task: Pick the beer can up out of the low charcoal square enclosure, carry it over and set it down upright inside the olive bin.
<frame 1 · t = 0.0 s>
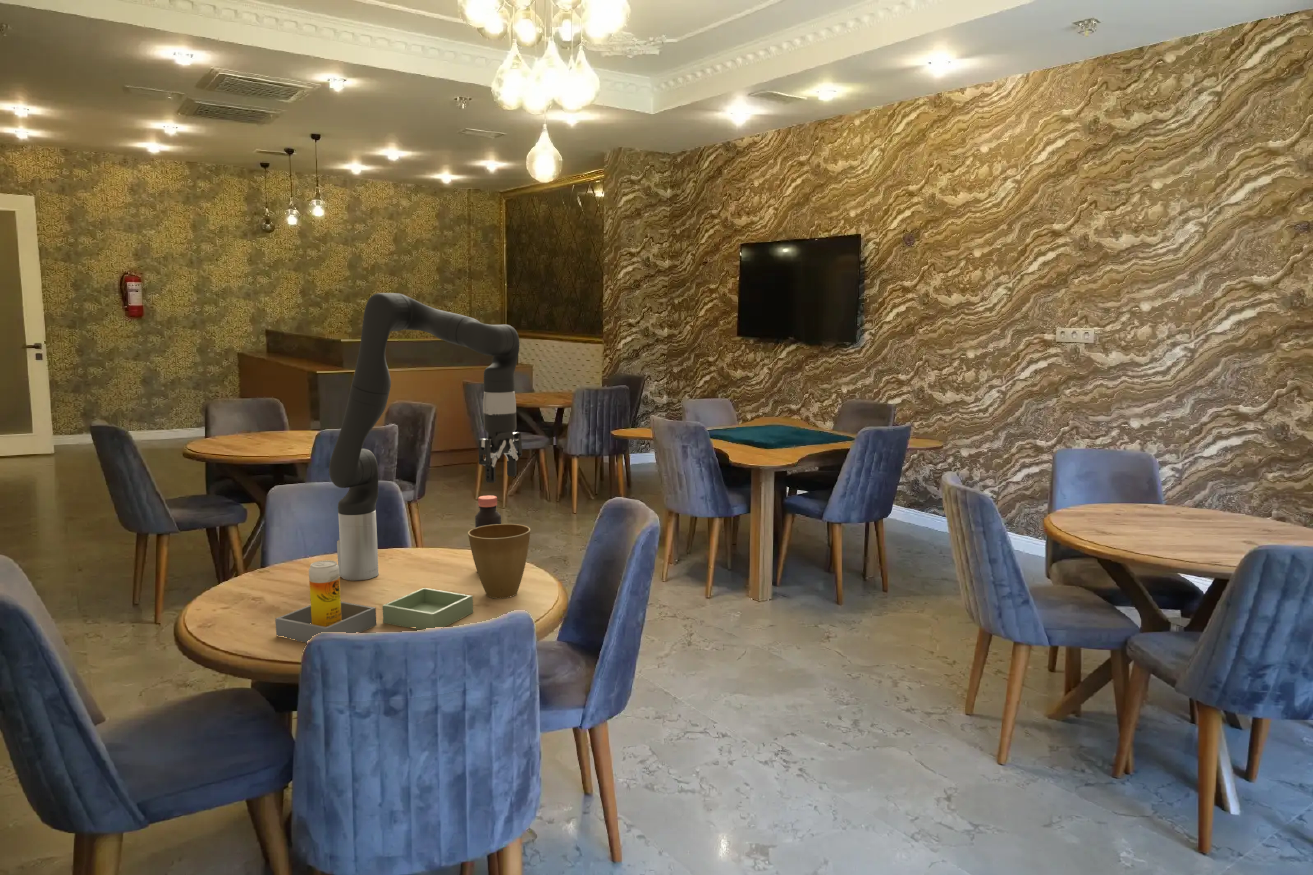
hand: (501, 479, 210), 29 cm above the table, tool pointing down, fingers open, 8 cm apart
bottle: (489, 571, 238), on the table
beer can: (327, 631, 193), resting in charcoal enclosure
olive bin: (428, 617, 201), on the table
plant pot: (501, 594, 218), on the table
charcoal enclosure: (327, 630, 193), on the table
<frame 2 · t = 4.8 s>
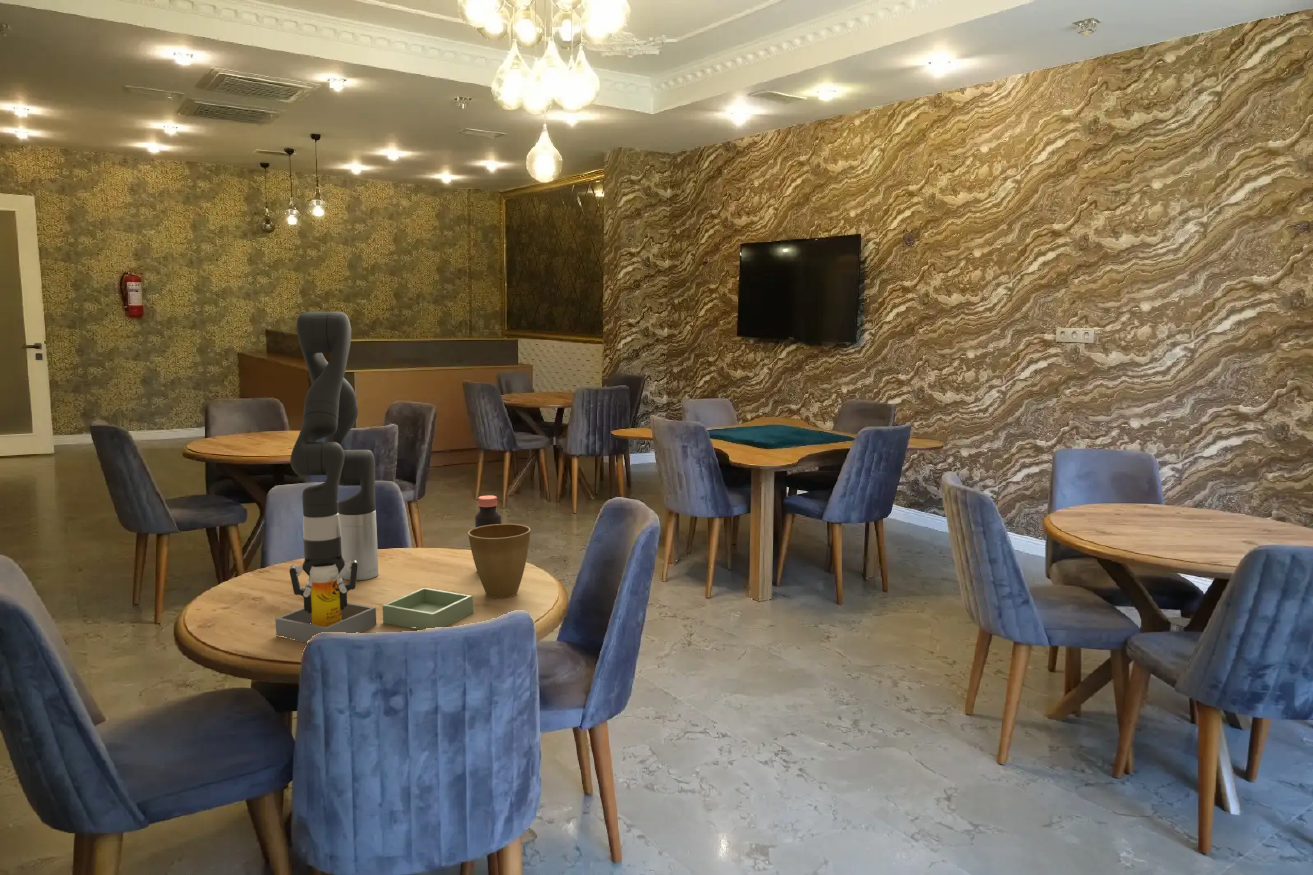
hand: (326, 610, 192), 5 cm above the table, tool pointing down, fingers closed on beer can, 6 cm apart
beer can: (327, 631, 193), resting in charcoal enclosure, touching gripper
everything else where it was.
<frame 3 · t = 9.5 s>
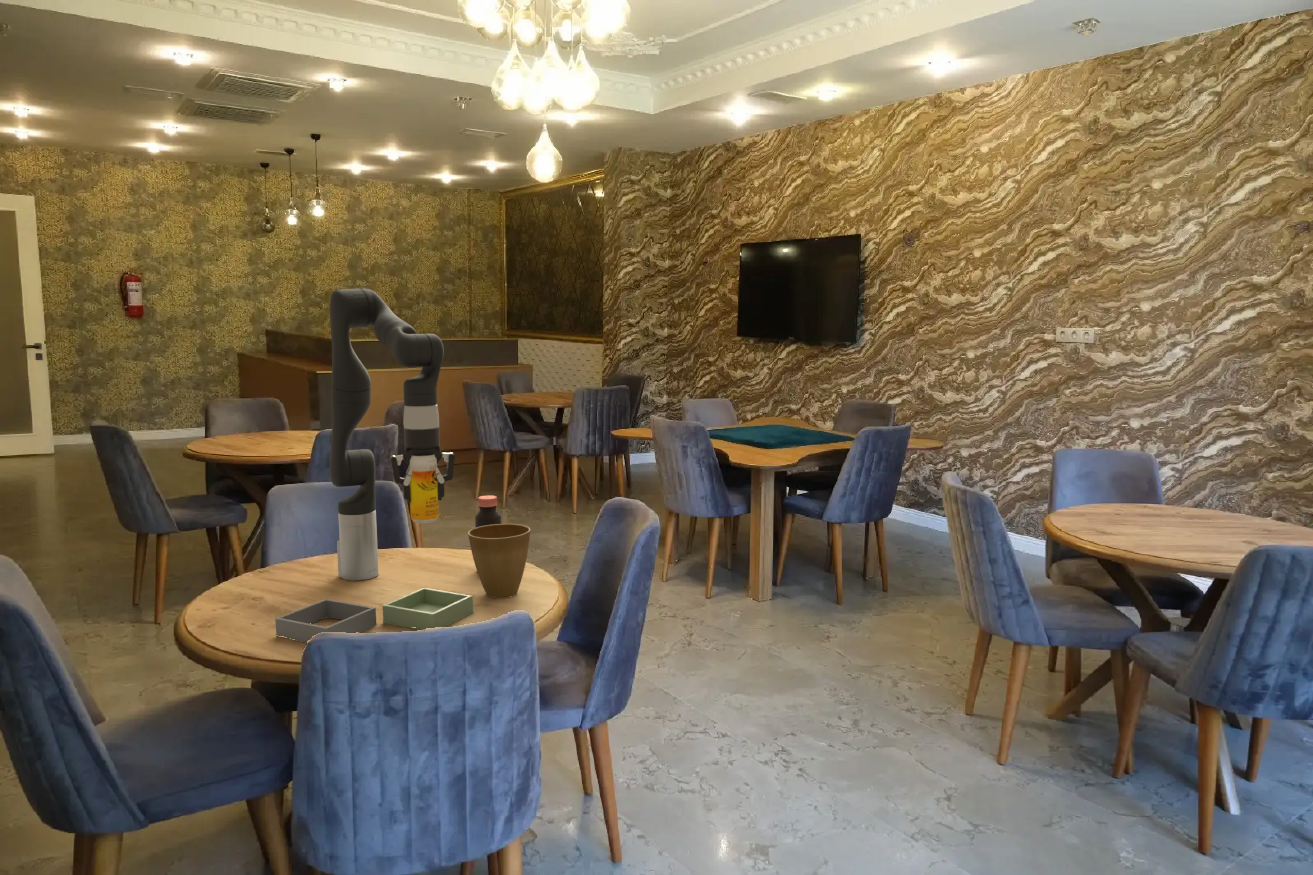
hand: (424, 500, 198), 27 cm above the table, tool pointing down, fingers closed on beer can, 6 cm apart
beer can: (425, 521, 198), point 22 cm above the table, touching gripper
everything else where it was.
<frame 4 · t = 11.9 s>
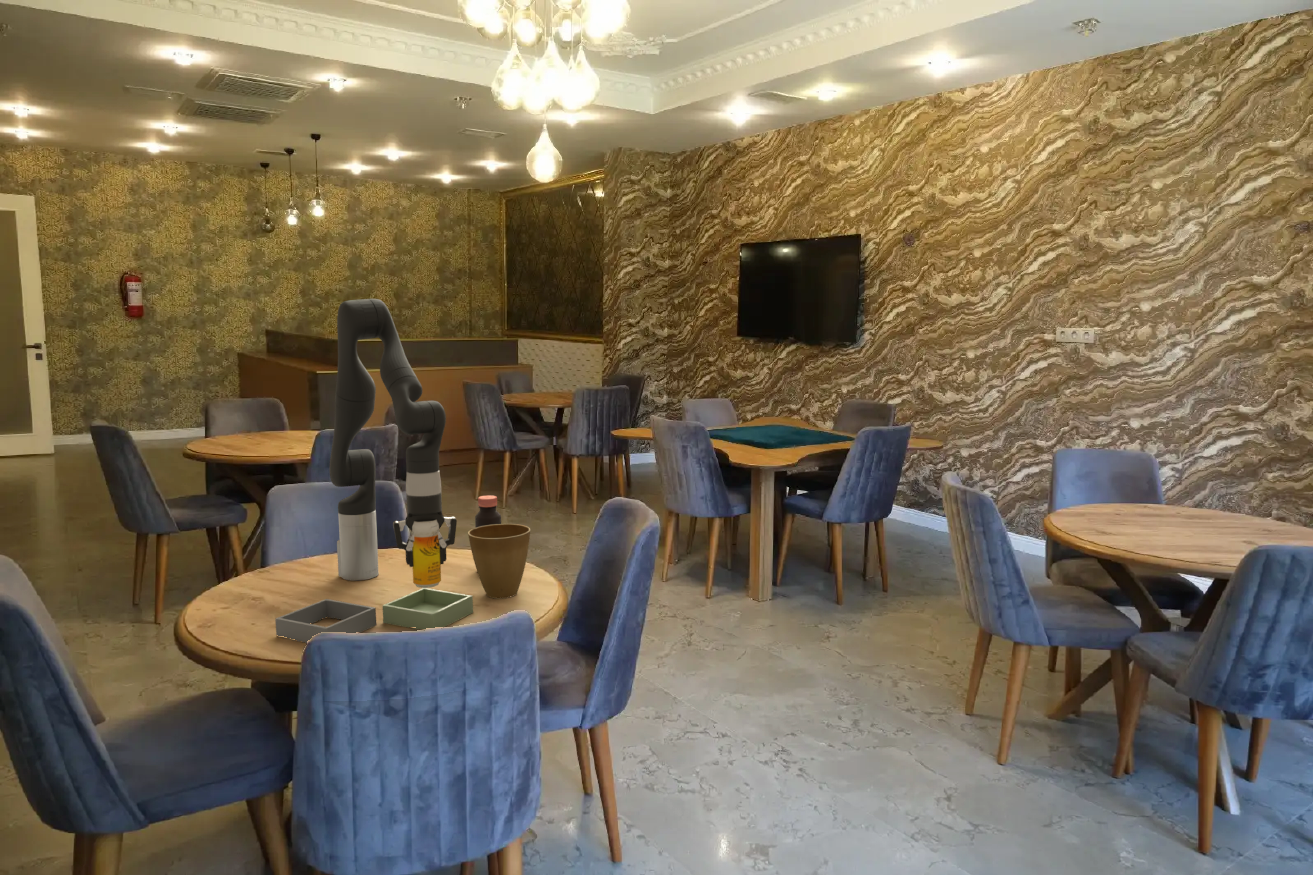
hand: (426, 564, 200), 12 cm above the table, tool pointing down, fingers closed on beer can, 6 cm apart
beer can: (427, 585, 200), point 8 cm above the table, touching gripper
everything else where it was.
when the fingers open (7 cm above the table, at t = 14.0 s): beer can drops 2 cm, resting on olive bin.
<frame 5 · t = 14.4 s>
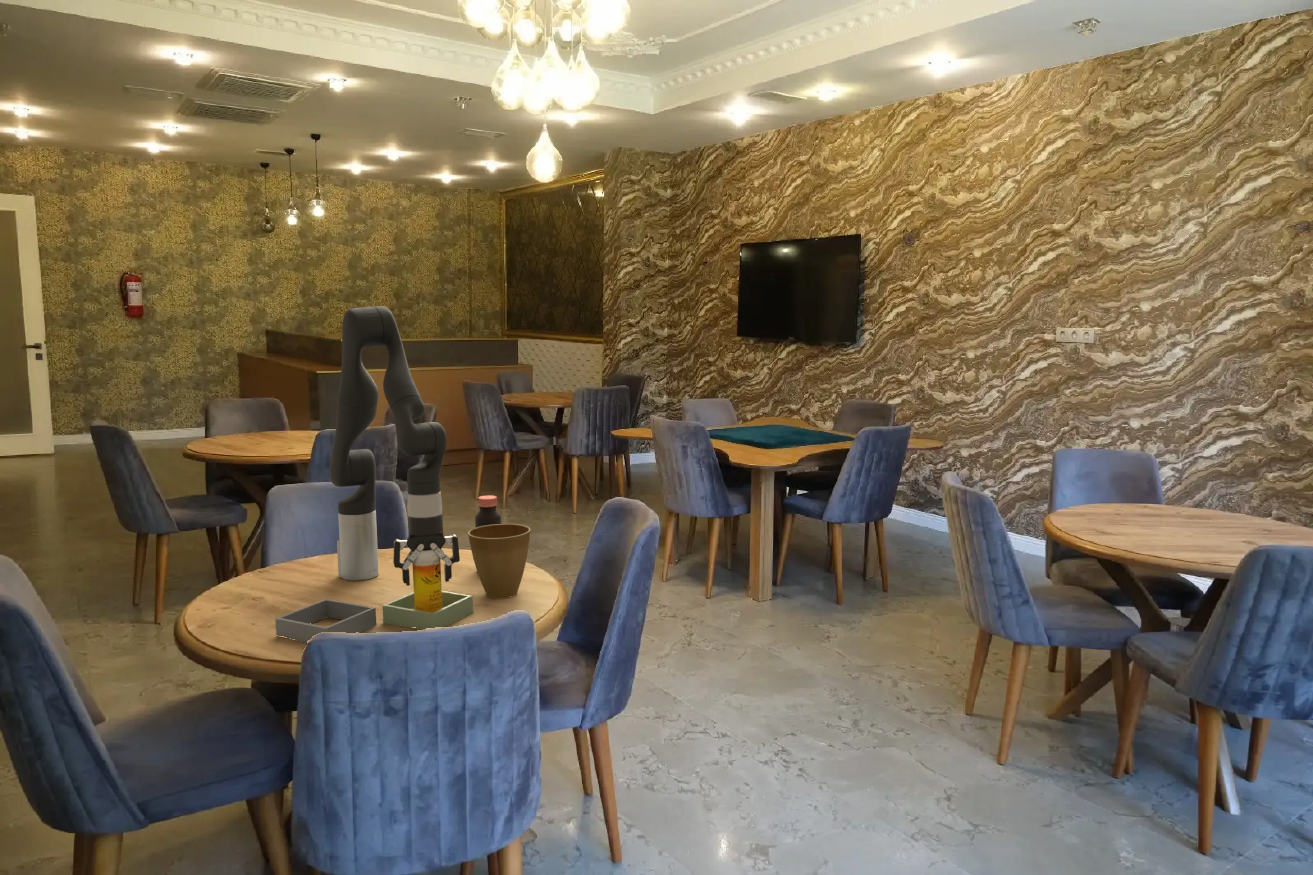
hand: (427, 582, 200), 8 cm above the table, tool pointing down, fingers open, 8 cm apart
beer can: (428, 614, 201), point 1 cm above the table, touching olive bin
everything else where it was.
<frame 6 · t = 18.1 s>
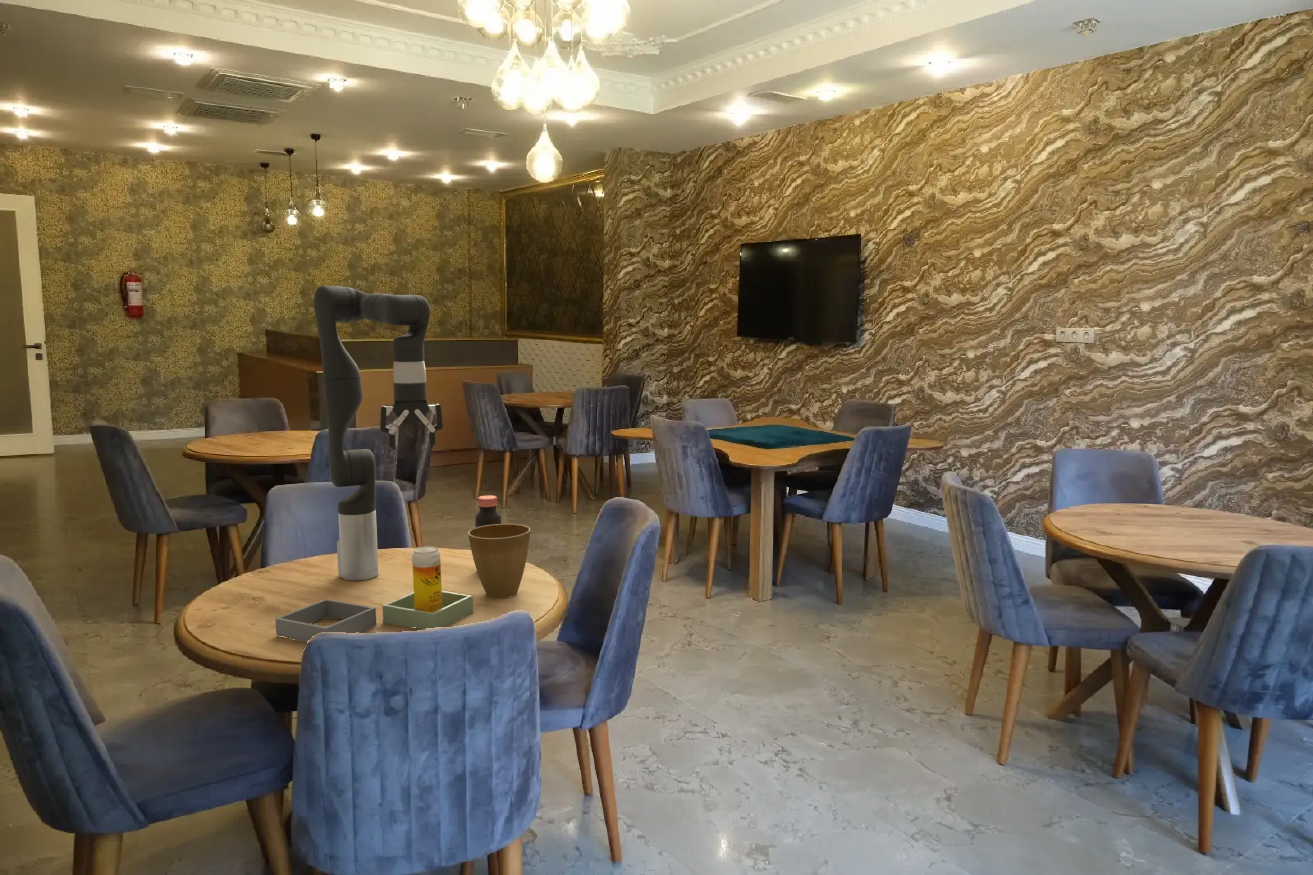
hand: (412, 448, 213), 36 cm above the table, tool pointing down, fingers open, 8 cm apart
nothing on the table moved.
at the end: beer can inside the target area on the olive bin (0.0 cm from its centre), point 0.6 cm above the olive bin's base; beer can tilted 0°; the gripper is holding nothing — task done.
